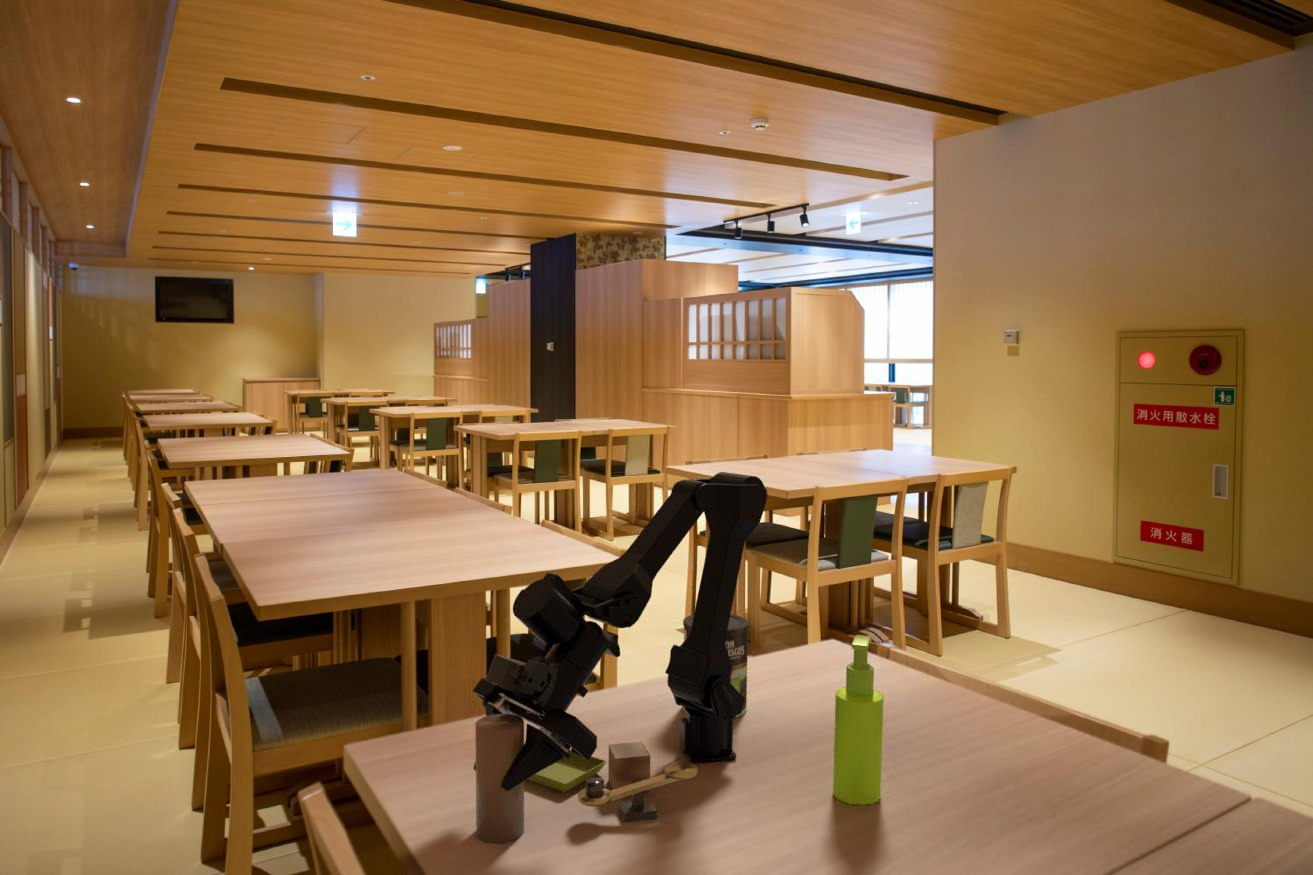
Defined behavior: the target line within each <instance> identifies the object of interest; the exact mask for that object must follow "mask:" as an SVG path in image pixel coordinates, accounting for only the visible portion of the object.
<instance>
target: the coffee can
mask: <svg viewBox="0 0 1313 875" xmlns="http://www.w3.org/2000/svg"><path fill="white" fill-rule="evenodd" d="M693 617H694V614H691V615H689V616H686V617H685V618H684V619H682V620H683V621H682V625H683V642H684V641H685V640H686V639H687V637H688V636H689V635H690V631H691V627H692V622H693ZM749 628H750V621H749V620H748V619H746V618H745V617H744V616H740V615H736V614H730V619H729V624H728V629H727V635H726V640H725V644H726V648H727V651H728V654H729V658H730V661H731V665H732V666H731V679H730V683H731V684H732V685H733V687H734V688H735V689H736V690H737V691H738V692H739V693H740V694H741V695H742V696H743V697H744V699H745V701H744V705H743V709H742V713H741V714H739V715H736V717H735V719H736V718H739V717H742V716H743V715H745V714H746V712H747V710H748V708H747V702H748V701H747V695H748V690H747V688H748V657H749V656H748V655H749V654H748V653H749V652H748V650H749V648H748V647H749V645H748V644H749ZM681 707H682V710H683V711H684V707H683V706H681Z"/></svg>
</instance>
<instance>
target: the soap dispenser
mask: <svg viewBox="0 0 1313 875" xmlns="http://www.w3.org/2000/svg"><path fill="white" fill-rule="evenodd" d="M872 639H873V636H872V635H871V636H870V635H864V634H856V635H854V638H853V641H852V643H851V649H852V650H853V662H850V663H849V664H847V665H846V674H845V678H846V679H845V687H841V688H839V689H836V691H835V699H834V700H835V705H834V706H835V707H834V709H835V711H834V739H833V740H834V741H833V742H834V745H833V751H834V752H833V776H832V777H833V778H832V779H833V783H832V794H833V796H834V797H835V798H836V799H837V800H838V801H841V802H843V803H846V804H849V805H853V804H855V805H854V806H857V805H856V804H859V805H858V806H866V805H865V804H870V805H873V804H872V803H874V804H876V803H878V802H879V801H880V800H879V799H881V790H882V788H881V787H882V786H881V784H882V753H883V750H882V749H883V728H884V727H883V724H884V723H883V722H884V721H883V720H884V694H882V693H881V692H880V691H878V690H876V689H875V688H874V680H875V678H874V677H875V668H874V667H873V666H872V665H871V664H869V663H868V655H869V654H868V653H869V647H870V644H871V641H872ZM877 801H878V802H877ZM875 802H876V803H875ZM863 804H864V805H863Z"/></svg>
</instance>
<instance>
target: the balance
mask: <svg viewBox="0 0 1313 875" xmlns="http://www.w3.org/2000/svg"><path fill="white" fill-rule="evenodd" d="M697 775H698V767H697V765H695V764H694V763H693V762H688V761H682V760H681V761H680V760H679V761H673V762H668V763H667V764H666V765H665V766H664V773H663V774H660V775H656V776H653V777H650V778H649V779H646V780H643V781H640V782H636V783H633V784H630V785H627V786H623V787H620V788H617V789H614V790H612V789H611V790H609V789H607V788H605V780H604V779H603V778H601V777H594V776H593V777H591V778H589V779H587V780H586V781H585V787H584V788H583V789H581V790H580V791H579V792H578V794H577V799H578V800H577V801H578V802H579V803H580V804H581V805H584V806H587V807H601V806H605V805H608V804H609V803H610V802H613V801H616V800H619V799H622V798H626V797H629V796H631V797H632V798H631V801H629V800H628V801H620V802H619V809H618V811H619V813H620V815H621V817H622V820H623V822H624V823H628V822H638V821H646V820H657V819H658V810H657V807H656V805H655V803H654V802H653V799H652V798H650V799H645V794H644V791H645V790H649V789H650V790H652V789H655V788H658V787H661V786H663V785H664V786H665V785H668V784H671V783H674V782H677V781H680V780H690V779H692V778H695V777H696V776H697Z"/></svg>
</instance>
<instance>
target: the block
mask: <svg viewBox="0 0 1313 875" xmlns="http://www.w3.org/2000/svg"><path fill="white" fill-rule="evenodd" d="M649 778H651V754H650V752H649V751H648V749H647V747H646V745H645V743H644V741H634V742H633V741H631V742H621V743H620V742H619V743H610V744H608V778H607V779H608V780H607V781H608V784H609V785H610V788H611V790H614V789H617V788H620V787H623V786H627V785H630V784H633V783H636V782H640V781H643V780H646V779H649ZM646 794H651V789H649V790H645V791H644V795H646Z"/></svg>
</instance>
